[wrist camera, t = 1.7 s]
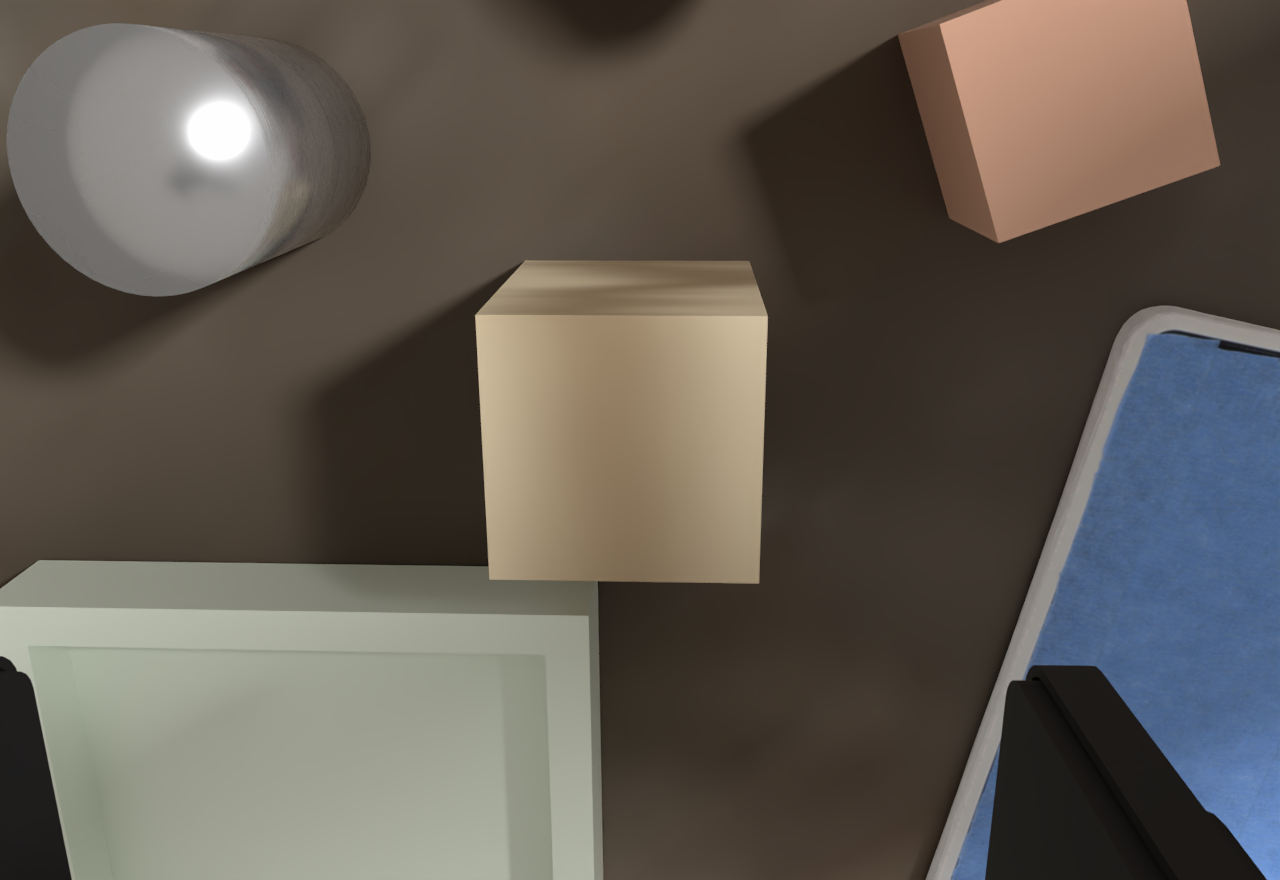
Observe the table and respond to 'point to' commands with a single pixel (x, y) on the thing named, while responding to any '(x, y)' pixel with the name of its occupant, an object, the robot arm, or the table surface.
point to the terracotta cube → (1058, 107)
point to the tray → (314, 719)
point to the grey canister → (182, 153)
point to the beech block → (624, 421)
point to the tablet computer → (1164, 575)
